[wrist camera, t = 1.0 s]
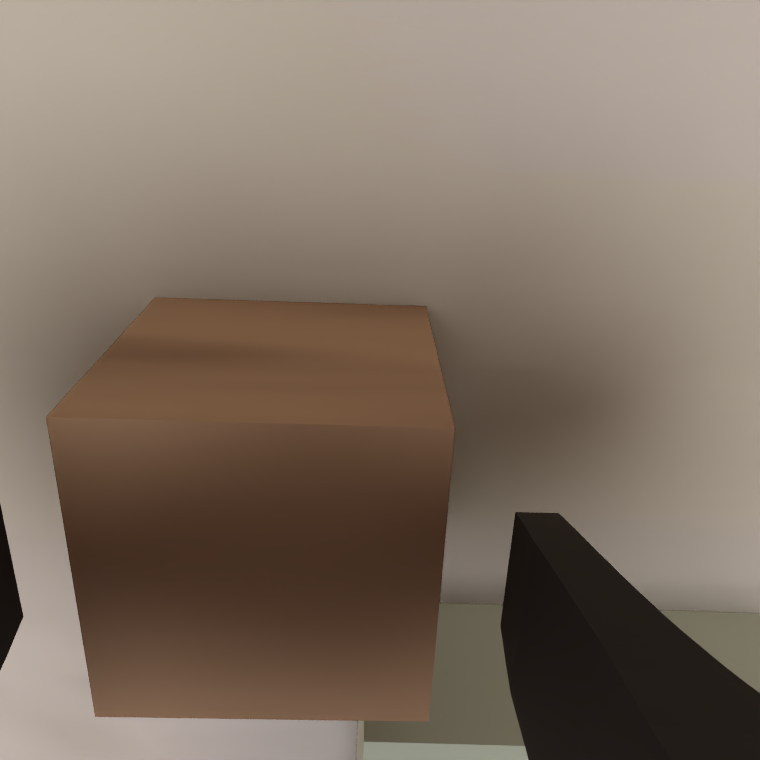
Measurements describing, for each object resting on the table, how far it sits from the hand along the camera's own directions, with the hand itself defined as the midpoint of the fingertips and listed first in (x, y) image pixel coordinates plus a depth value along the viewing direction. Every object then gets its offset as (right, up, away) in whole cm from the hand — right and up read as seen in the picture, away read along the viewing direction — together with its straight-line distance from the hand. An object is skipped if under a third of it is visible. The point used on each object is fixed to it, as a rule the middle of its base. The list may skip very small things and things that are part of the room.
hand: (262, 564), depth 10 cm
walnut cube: (0, +2, +4) cm, 5 cm away
